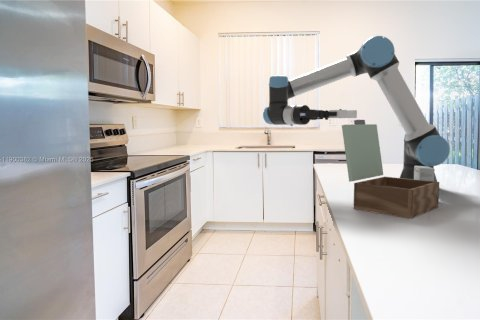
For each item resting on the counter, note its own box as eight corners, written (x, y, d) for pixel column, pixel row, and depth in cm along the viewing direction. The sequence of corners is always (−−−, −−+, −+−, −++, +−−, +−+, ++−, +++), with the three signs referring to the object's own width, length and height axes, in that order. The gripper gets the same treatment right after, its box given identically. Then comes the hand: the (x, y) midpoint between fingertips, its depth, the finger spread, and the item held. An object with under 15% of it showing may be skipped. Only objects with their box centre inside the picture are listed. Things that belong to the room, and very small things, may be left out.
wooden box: (384, 199, 140) (385, 176, 139) (438, 207, 127) (439, 181, 126) (353, 208, 125) (354, 183, 124) (410, 218, 112) (412, 189, 112)
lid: (383, 175, 139) (380, 175, 140) (376, 119, 140) (372, 120, 141) (352, 181, 125) (349, 181, 126) (344, 119, 125) (341, 120, 126)
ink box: (433, 203, 134) (435, 168, 133) (418, 202, 135) (419, 168, 134) (427, 198, 142) (428, 165, 141) (412, 197, 143) (414, 165, 142)
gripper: (311, 124, 161) (364, 124, 144) (281, 124, 147) (335, 125, 131) (312, 105, 160) (365, 103, 144) (281, 104, 147) (336, 102, 130)
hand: (351, 114), depth 137 cm, fingers open, 6 cm apart
